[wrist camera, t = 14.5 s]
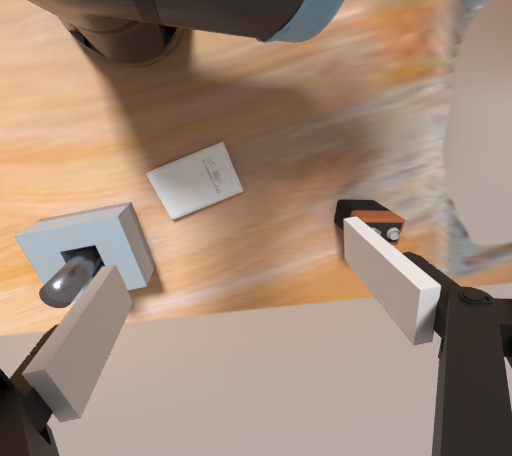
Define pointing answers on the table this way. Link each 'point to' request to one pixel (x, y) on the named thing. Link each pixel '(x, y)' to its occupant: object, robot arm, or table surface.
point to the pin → (71, 278)
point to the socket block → (90, 243)
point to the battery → (371, 218)
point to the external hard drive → (195, 181)
